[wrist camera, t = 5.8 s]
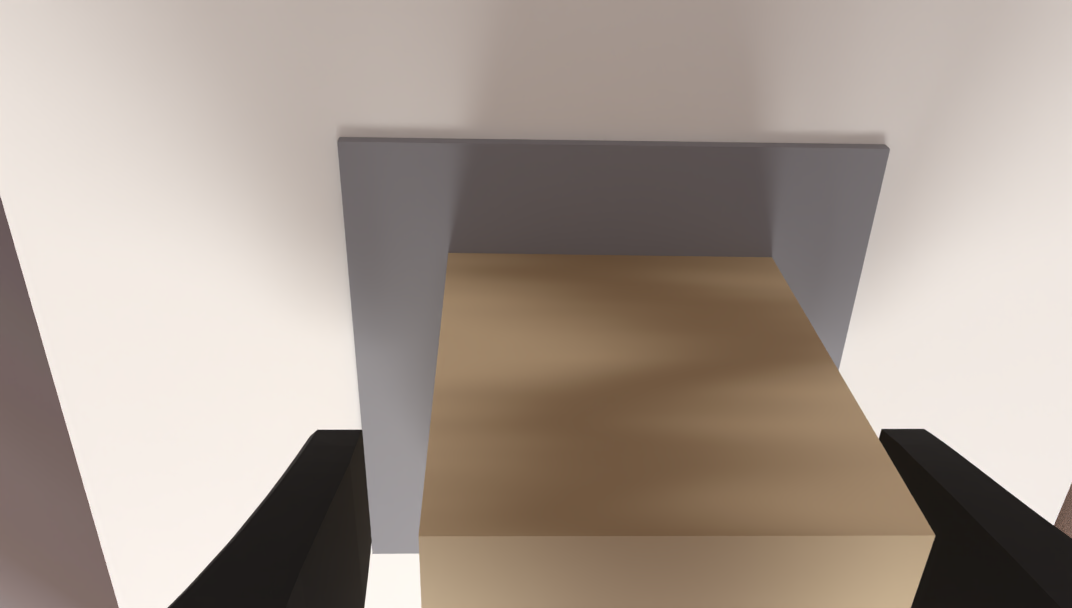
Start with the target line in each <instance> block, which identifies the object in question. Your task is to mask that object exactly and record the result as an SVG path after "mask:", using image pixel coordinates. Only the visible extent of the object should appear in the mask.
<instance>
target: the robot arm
mask: <svg viewBox="0 0 1072 608" xmlns="http://www.w3.org/2000/svg"><path fill="white" fill-rule="evenodd" d="M879 440H880V442H881V444H882V445H883V447H884V449H885V450H886V452H887V454H888V456H889V457H890V459H891V461H892V462H893V464H894V466H895V467H896V469H897V471H898V473H899V474H900V476H901V478H902V479H903V481H904V483H905V484H906V486H907V488H908V490H909V491H910V493H911V495H912V496H913V498H914V500H915V501H916V503H917V505H918V507H919V508H920V510H921V512H922V513H923V515H924V517H925V519H926V520H927V522H928V524H929V525H930V527H931V529H932V530H933V532H934V534H935V538H934V541H933V544H932V547H931V550H930V553H929V556H928V559H927V562H926V565H925V568H924V571H923V574H922V576H921V579H920V582H919V585H918V588H917V591H916V594H915V597H914V600H913V603H912V606H911V608H1072V538H1070V537H1069V536H1068V535H1066V534H1065V533H1063V532H1062V531H1061V530H1059V529H1058V528H1056V527H1055V526H1054V525H1052V524H1051V523H1050V522H1048V521H1047V520H1046V519H1044V518H1043V517H1042V516H1040V515H1039V514H1038V513H1036V512H1035V511H1034V510H1032V509H1031V508H1030V507H1028V506H1027V505H1026V504H1024V503H1023V502H1022V501H1020V500H1019V499H1018V498H1016V497H1015V496H1014V495H1012V494H1011V493H1010V492H1008V491H1007V490H1006V489H1005V488H1003V487H1002V486H1001V485H999V484H998V483H997V482H995V481H994V480H993V479H992V478H990V477H989V476H988V475H986V474H985V473H984V472H982V471H981V470H980V469H979V468H977V467H976V466H975V465H973V464H972V463H971V462H969V461H968V460H967V459H965V458H964V457H963V456H961V455H960V454H959V453H958V452H956V451H955V450H954V449H952V448H951V447H950V446H948V445H947V444H945V443H944V442H943V441H941V440H940V439H939V438H937V437H936V436H934V435H933V434H931V433H930V432H928V431H927V430H925V429H881V432H880V436H879ZM371 544H372V537H371V526H370V514H369V502H368V490H367V479H366V467H365V455H364V444H363V432H362V430H316V431H315V432H314V433H313V434H312V435H311V436H310V437H309V438H308V440H307V441H306V443H305V444H304V445H303V447H302V448H301V450H300V451H299V453H298V454H297V455H296V457H295V458H294V460H293V461H292V462H291V464H290V465H289V467H288V468H287V469H286V471H285V472H284V473H283V475H282V476H281V478H280V479H279V480H278V481H277V483H276V484H275V485H274V487H273V488H272V489H271V491H270V492H269V493H268V495H267V496H266V497H265V499H264V500H263V501H262V502H261V503H260V505H259V506H258V507H257V508H256V510H255V511H254V512H253V513H252V514H251V516H250V517H249V518H248V519H247V521H246V522H245V523H244V524H243V526H242V527H241V528H240V529H239V530H238V532H237V533H236V534H235V535H234V536H233V538H232V539H231V540H230V541H229V542H228V543H227V545H226V546H225V547H224V548H223V549H222V550H221V551H220V552H219V553H218V555H217V556H216V557H215V558H214V559H213V560H212V561H211V562H210V563H209V564H208V566H207V567H206V568H205V569H204V570H203V571H202V572H201V573H200V574H199V575H198V576H197V578H196V579H195V580H194V581H193V582H192V583H191V584H190V585H189V586H188V587H187V588H186V589H185V590H184V591H183V592H182V593H181V594H180V595H179V596H178V597H177V598H176V600H175V601H174V602H173V603H172V604H171V605H170V606H169V607H168V608H364V607H365V598H366V590H367V581H368V572H369V563H370V554H371Z"/></svg>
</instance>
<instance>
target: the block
mask: <svg viewBox="0 0 1072 608" xmlns="http://www.w3.org/2000/svg"><path fill="white" fill-rule="evenodd" d="M418 537H419V562H420V586H421V608H911V606H912V603H913V600H914V597H915V594H916V591H917V588H918V585H919V582H920V579H921V576H922V574H923V571H924V568H925V565H926V562H927V559H928V556H929V553H930V550H931V547H932V544H933V541H934V538H935V534H934V532H933V530H932V529H931V527H930V525H929V524H928V522H927V520H926V519H925V517H924V515H923V513H922V512H921V510H920V508H919V507H918V505H917V503H916V501H915V500H914V498H913V496H912V495H911V493H910V491H909V490H908V488H907V486H906V484H905V483H904V481H903V479H902V478H901V476H900V474H899V473H898V471H897V469H896V467H895V466H894V464H893V462H892V461H891V459H890V457H889V456H888V454H887V452H886V450H885V449H884V447H883V445H882V444H881V442H880V440H879V439H878V437H877V435H876V433H875V432H874V430H873V428H872V427H871V425H870V423H869V422H868V420H867V418H866V416H865V415H864V413H863V411H862V410H861V408H860V406H859V405H858V403H857V401H856V399H855V398H854V396H853V394H852V393H851V391H850V389H849V388H848V386H847V384H846V382H845V381H844V379H843V377H842V376H841V374H840V372H839V371H838V369H837V367H836V365H835V364H834V362H833V360H832V359H831V357H830V355H829V354H828V352H827V350H826V348H825V347H824V345H823V343H822V342H821V340H820V338H819V336H818V335H817V333H816V331H815V330H814V328H813V326H812V325H811V323H810V321H809V319H808V318H807V316H806V314H805V313H804V311H803V309H802V308H801V306H800V304H799V302H798V301H797V299H796V297H795V296H794V294H793V292H792V291H791V289H790V287H789V285H788V284H787V282H786V280H785V279H784V277H783V275H782V274H781V272H780V270H779V268H778V267H777V265H776V263H775V262H774V260H773V258H772V257H711V256H639V255H566V254H494V253H448V260H447V270H446V279H445V289H444V298H443V308H442V317H441V327H440V336H439V346H438V355H437V365H436V374H435V384H434V393H433V403H432V412H431V422H430V431H429V441H428V450H427V460H426V469H425V479H424V489H423V498H422V508H421V517H420V527H419V536H418Z"/></svg>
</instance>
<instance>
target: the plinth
mask: <svg viewBox="0 0 1072 608" xmlns="http://www.w3.org/2000/svg"><path fill="white" fill-rule="evenodd" d="M0 196H1V199H2V203H3V206H4V210H5V213H6V217H7V220H8V224H9V227H10V231H11V234H12V238H13V241H14V245H15V248H16V251H17V255H18V258H19V262H20V265H21V269H22V272H23V276H24V279H25V283H26V286H27V290H28V293H29V297H30V300H31V304H32V307H33V311H34V314H35V317H36V321H37V324H38V328H39V331H40V335H41V338H42V342H43V345H44V349H45V352H46V356H47V359H48V363H49V366H50V370H51V373H52V377H53V380H54V383H55V387H56V390H57V394H58V397H59V401H60V404H61V408H62V411H63V415H64V418H65V422H66V425H67V429H68V432H69V436H70V439H71V442H72V446H73V449H74V453H75V456H76V460H77V463H78V467H79V470H80V474H81V477H82V481H83V484H84V488H85V491H86V495H87V498H88V502H89V505H90V508H91V512H92V515H93V519H94V522H95V526H96V529H97V533H98V536H99V540H100V543H101V547H102V550H103V554H104V557H105V561H106V564H107V567H108V571H109V574H110V578H111V581H112V585H113V588H114V592H115V595H116V599H117V602H118V606H119V608H168V607H169V606H170V605H171V604H172V603H173V602H174V601H175V600H176V598H177V597H178V596H179V595H180V594H181V593H182V592H183V591H184V590H185V589H186V588H187V587H188V586H189V585H190V584H191V583H192V582H193V581H194V580H195V579H196V578H197V576H198V575H199V574H200V573H201V572H202V571H203V570H204V569H205V568H206V567H207V566H208V564H209V563H210V562H211V561H212V560H213V559H214V558H215V557H216V556H217V555H218V553H219V552H220V551H221V550H222V549H223V548H224V547H225V546H226V545H227V543H228V542H229V541H230V540H231V539H232V538H233V536H234V535H235V534H236V533H237V532H238V530H239V529H240V528H241V527H242V526H243V524H244V523H245V522H246V521H247V519H248V518H249V517H250V516H251V514H252V513H253V512H254V511H255V510H256V508H257V507H258V506H259V505H260V503H261V502H262V501H263V500H264V499H265V497H266V496H267V495H268V493H269V492H270V491H271V489H272V488H273V487H274V485H275V484H276V483H277V481H278V480H279V479H280V478H281V476H282V475H283V473H284V472H285V471H286V469H287V468H288V467H289V465H290V464H291V462H292V461H293V460H294V458H295V457H296V455H297V454H298V453H299V451H300V450H301V448H302V447H303V445H304V444H305V443H306V441H307V440H308V438H309V437H310V436H311V435H312V434H313V433H314V432H315V431H316V430H362V432H363V444H364V455H365V467H366V479H367V490H368V502H369V514H370V526H371V537H372V544H371V554H370V563H369V572H368V581H367V590H366V598H365V607H364V608H421V586H420V562H419V537H418V536H419V527H420V517H421V508H422V498H423V489H424V479H425V469H426V460H427V450H428V441H429V431H430V422H431V412H432V403H433V393H434V384H435V374H436V365H437V355H438V346H439V336H440V327H441V317H442V308H443V298H444V289H445V279H446V270H447V260H448V253H494V254H566V255H639V256H711V257H772V258H773V260H774V262H775V263H776V265H777V267H778V268H779V270H780V272H781V274H782V275H783V277H784V279H785V280H786V282H787V284H788V285H789V287H790V289H791V291H792V292H793V294H794V296H795V297H796V299H797V301H798V302H799V304H800V306H801V308H802V309H803V311H804V313H805V314H806V316H807V318H808V319H809V321H810V323H811V325H812V326H813V328H814V330H815V331H816V333H817V335H818V336H819V338H820V340H821V342H822V343H823V345H824V347H825V348H826V350H827V352H828V354H829V355H830V357H831V359H832V360H833V362H834V364H835V365H836V367H837V369H838V371H839V372H840V374H841V376H842V377H843V379H844V381H845V382H846V384H847V386H848V388H849V389H850V391H851V393H852V394H853V396H854V398H855V399H856V401H857V403H858V405H859V406H860V408H861V410H862V411H863V413H864V415H865V416H866V418H867V420H868V422H869V423H870V425H871V427H872V428H873V430H874V432H875V433H876V435H877V437H878V439H879V436H880V432H881V429H925V430H927V431H928V432H930V433H931V434H933V435H934V436H936V437H937V438H939V439H940V440H941V441H943V442H944V443H945V444H947V445H948V446H950V447H951V448H952V449H954V450H955V451H956V452H958V453H959V454H960V455H961V456H963V457H964V458H965V459H967V460H968V461H969V462H971V463H972V464H973V465H975V466H976V467H977V468H979V469H980V470H981V471H982V472H984V473H985V474H986V475H988V476H989V477H990V478H992V479H993V480H994V481H995V482H997V483H998V484H999V485H1001V486H1002V487H1003V488H1005V489H1006V490H1007V491H1008V492H1010V493H1011V494H1012V495H1014V496H1015V497H1016V498H1018V499H1019V500H1020V501H1022V502H1023V503H1024V504H1026V505H1027V506H1028V507H1030V508H1031V509H1032V510H1034V511H1035V512H1036V513H1038V514H1039V515H1040V516H1042V517H1043V518H1044V519H1046V520H1047V521H1048V522H1050V523H1051V524H1052V525H1054V524H1055V521H1056V519H1057V516H1058V514H1059V512H1060V509H1061V507H1062V504H1063V502H1064V500H1065V497H1066V495H1067V492H1068V490H1069V488H1070V485H1071V483H1072V0H0Z"/></svg>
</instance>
